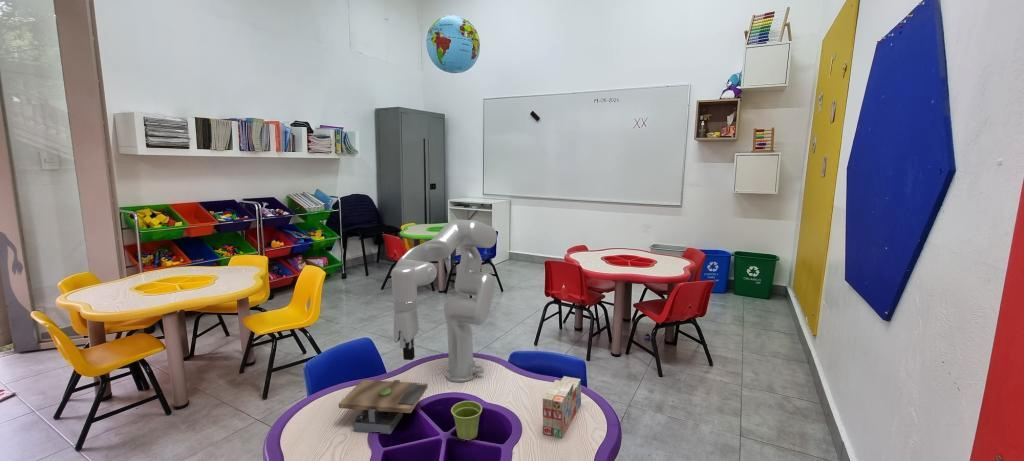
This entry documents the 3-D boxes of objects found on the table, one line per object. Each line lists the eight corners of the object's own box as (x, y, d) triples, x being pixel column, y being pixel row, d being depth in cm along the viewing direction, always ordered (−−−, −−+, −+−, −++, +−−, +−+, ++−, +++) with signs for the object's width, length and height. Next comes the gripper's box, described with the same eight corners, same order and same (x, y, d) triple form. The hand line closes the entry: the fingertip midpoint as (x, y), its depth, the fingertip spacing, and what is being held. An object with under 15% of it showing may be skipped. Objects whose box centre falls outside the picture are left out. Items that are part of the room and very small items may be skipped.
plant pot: (484, 426, 142) (483, 400, 141) (481, 444, 133) (480, 417, 131) (454, 426, 142) (453, 400, 141) (449, 444, 133) (448, 417, 132)
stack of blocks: (563, 400, 156) (563, 367, 155) (581, 404, 154) (581, 370, 152) (542, 434, 137) (542, 397, 135) (562, 439, 135) (562, 401, 133)
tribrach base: (414, 398, 159) (413, 380, 158) (390, 434, 139) (388, 413, 138) (382, 396, 161) (381, 378, 160) (354, 431, 140) (352, 410, 139)
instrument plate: (427, 390, 155) (427, 380, 154) (410, 416, 139) (410, 405, 139) (362, 386, 159) (362, 377, 158) (339, 411, 143) (338, 400, 142)
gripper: (403, 297, 150) (406, 348, 153) (384, 312, 136) (388, 369, 139) (424, 297, 149) (427, 349, 152) (408, 313, 135) (411, 370, 138)
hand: (409, 358), depth 146 cm, fingers closed
